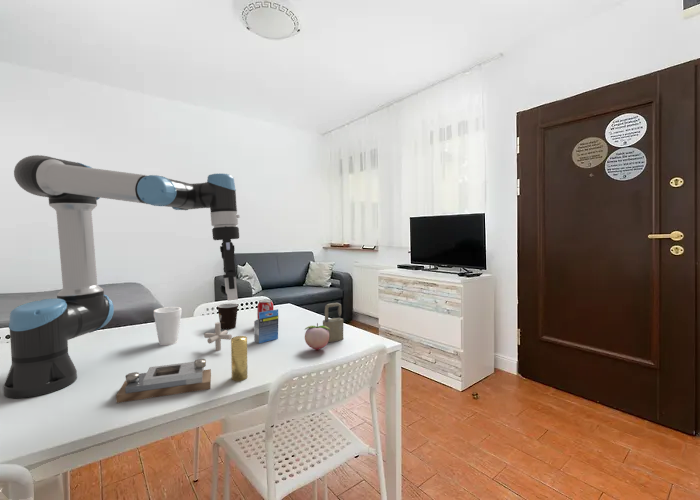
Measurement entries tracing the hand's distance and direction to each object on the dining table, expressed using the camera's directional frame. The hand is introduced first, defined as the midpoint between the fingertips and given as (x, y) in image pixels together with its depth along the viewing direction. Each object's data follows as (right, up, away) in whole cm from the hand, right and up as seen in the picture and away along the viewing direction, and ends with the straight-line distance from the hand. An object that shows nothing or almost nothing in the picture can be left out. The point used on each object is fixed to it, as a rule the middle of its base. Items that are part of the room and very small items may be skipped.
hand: (231, 296), depth 102 cm
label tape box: (+3, -22, +32) cm, 39 cm away
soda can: (-2, -21, +51) cm, 55 cm away
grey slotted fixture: (-15, -22, -9) cm, 28 cm away
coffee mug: (-18, -21, +48) cm, 55 cm away
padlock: (+29, -22, +33) cm, 49 cm away
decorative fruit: (+24, -23, +21) cm, 40 cm away
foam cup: (-35, -22, +29) cm, 50 cm away
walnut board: (-15, -24, -9) cm, 30 cm away
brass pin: (+3, -24, -2) cm, 24 cm away
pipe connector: (-12, -23, +21) cm, 33 cm away
